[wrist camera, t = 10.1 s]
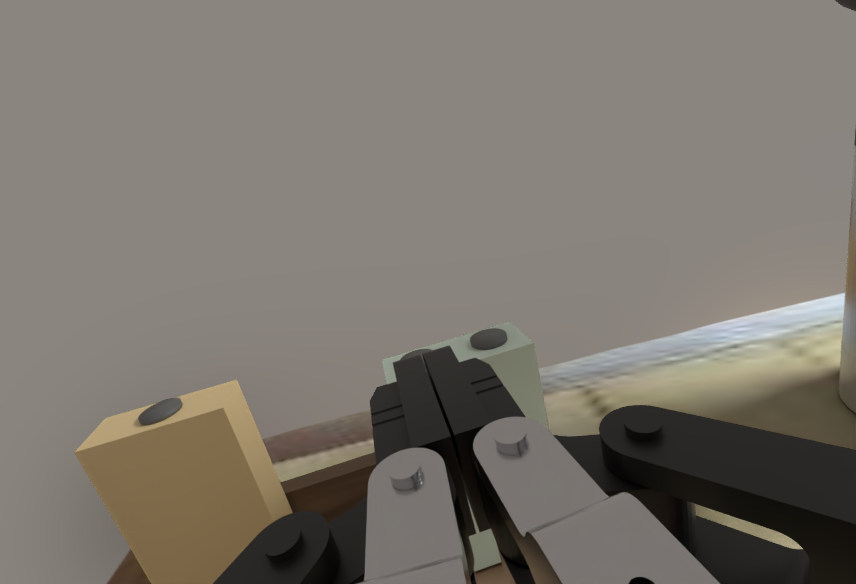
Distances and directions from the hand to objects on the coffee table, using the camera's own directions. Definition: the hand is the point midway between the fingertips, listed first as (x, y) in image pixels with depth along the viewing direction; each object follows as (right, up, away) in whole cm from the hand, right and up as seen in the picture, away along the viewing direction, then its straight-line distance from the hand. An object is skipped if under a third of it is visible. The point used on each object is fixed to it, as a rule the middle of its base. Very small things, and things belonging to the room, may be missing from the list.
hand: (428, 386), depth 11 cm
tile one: (-11, -15, +15) cm, 24 cm away
